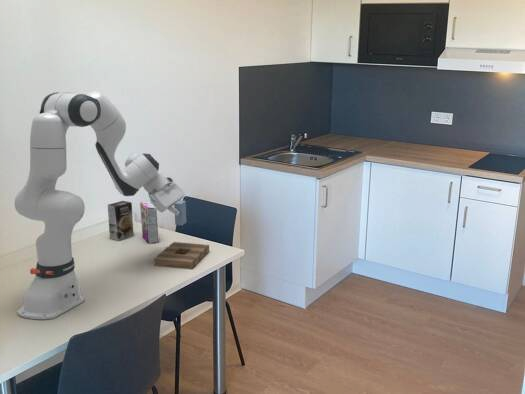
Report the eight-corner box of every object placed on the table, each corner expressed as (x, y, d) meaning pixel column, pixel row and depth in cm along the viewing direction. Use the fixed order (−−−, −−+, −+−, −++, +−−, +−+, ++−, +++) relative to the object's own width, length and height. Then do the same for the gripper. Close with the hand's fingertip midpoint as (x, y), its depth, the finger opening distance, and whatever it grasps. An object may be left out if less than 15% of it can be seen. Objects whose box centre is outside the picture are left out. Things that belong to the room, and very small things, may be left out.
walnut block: (192, 269, 219) (191, 262, 218) (154, 265, 223) (154, 258, 222) (209, 251, 238) (209, 244, 237) (174, 248, 242) (173, 241, 241)
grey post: (182, 225, 224) (181, 203, 222) (175, 224, 225) (174, 203, 223) (186, 222, 228) (185, 200, 226) (179, 221, 229) (178, 200, 227)
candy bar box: (141, 236, 257) (139, 202, 252) (152, 235, 259) (150, 201, 254) (147, 244, 247) (145, 208, 243) (158, 242, 249) (157, 207, 245)
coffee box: (118, 241, 251) (116, 206, 247) (109, 238, 255) (106, 204, 250) (134, 236, 258) (132, 202, 254) (125, 233, 262) (122, 200, 257)
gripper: (151, 188, 214) (176, 214, 214) (173, 176, 233) (195, 200, 234) (141, 198, 216) (166, 224, 217) (163, 186, 236) (186, 210, 236)
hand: (181, 212), depth 225 cm, fingers closed on grey post, 4 cm apart
